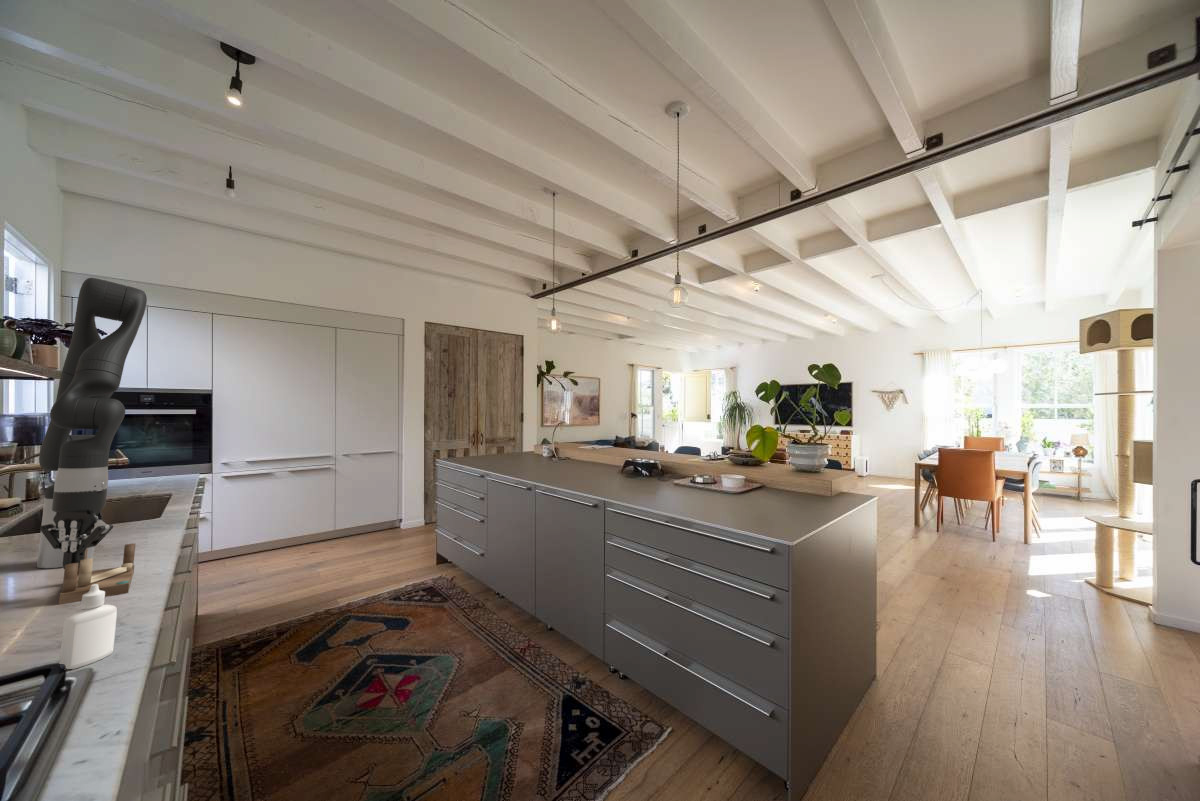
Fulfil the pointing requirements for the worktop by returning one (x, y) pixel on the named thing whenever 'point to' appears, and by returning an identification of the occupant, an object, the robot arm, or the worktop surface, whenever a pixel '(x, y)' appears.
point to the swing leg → (86, 572)
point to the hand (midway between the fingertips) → (72, 568)
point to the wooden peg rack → (109, 585)
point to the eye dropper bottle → (89, 631)
